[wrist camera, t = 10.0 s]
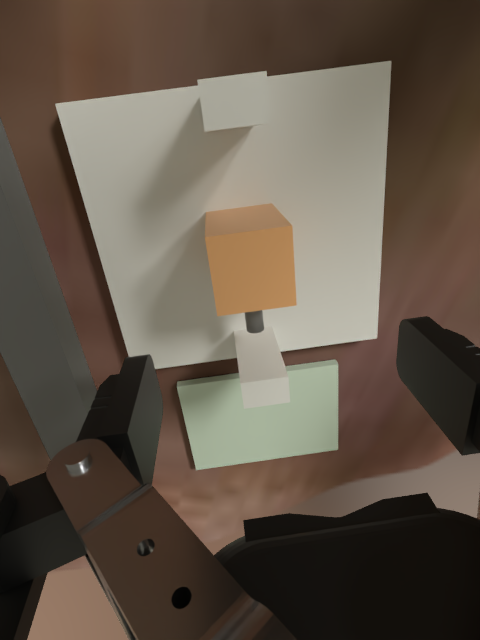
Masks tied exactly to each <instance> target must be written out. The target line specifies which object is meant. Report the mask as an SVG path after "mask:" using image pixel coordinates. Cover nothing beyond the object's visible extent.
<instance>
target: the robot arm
mask: <svg viewBox="0 0 480 640" xmlns="http://www.w3.org/2000/svg"><path fill="white" fill-rule="evenodd" d="M396 364H397V370H398V374H399V376H400V378H401V380H402V381H403V383H404V384H405V385H406V386H407V388H408V389H409V390H410V391H411V393H412V394H413V395H414V396H415V397H416V399H417V400H418V401H419V402H420V404H421V405H422V406H423V407H424V409H425V410H426V411H427V412H428V414H429V415H430V416H431V417H432V419H433V420H434V421H435V422H436V424H437V425H438V426H439V427H440V429H441V430H442V431H443V432H444V434H445V435H446V436H447V437H448V439H449V440H450V441H451V442H452V444H453V445H454V446H455V447H456V449H457V450H458V451H459V452H460V454H461V455H468V454H475V453H480V348H478V347H475V345H474V344H473V343H472V342H471V341H469V340H468V339H467V338H465V337H464V336H462V335H460V334H458V333H455V332H453V331H450V330H448V329H443V328H442V327H441V326H440V325H438V324H437V323H436V322H435V321H433V320H432V319H431V318H430V317H427V316H425V317H418V318H411V319H404V320H402V321H401V323H400V326H399V336H398V348H397V360H396ZM162 415H163V401H162V395H161V390H160V387H159V383H158V379H157V375H156V371H155V367H154V363H153V359H152V357H151V355H150V354H147V355H140V356H133V357H126V358H125V360H124V363H123V366H122V368H121V371H120V374H116V375H110V376H109V377H108V378H107V379H106V380H105V381H104V382H103V383H102V384H101V385H100V386H99V389H98V391H97V393H96V396H95V400H93V403H92V405H91V410H89V412H88V415H87V417H86V419H85V422H84V424H83V426H82V429H81V431H80V433H79V436H78V438H77V440H76V442H75V443H72V444H70V445H68V446H67V447H65V448H63V449H62V450H61V451H59V452H58V453H57V454H56V455H55V456H54V457H53V458H52V460H51V461H50V463H49V465H48V467H47V471H46V472H45V473H43V474H40V475H38V476H35V477H33V478H30V479H28V480H25V481H22V482H20V483H17V484H15V485H12V486H9V484H8V482H7V481H6V479H5V478H4V477H3V476H1V475H0V640H27V638H28V635H29V631H30V628H31V625H32V621H33V618H34V615H35V612H36V608H37V605H38V602H39V599H40V595H41V592H42V589H43V585H44V582H45V579H46V576H47V573H48V572H49V571H51V570H54V569H56V568H58V567H60V566H62V565H64V564H67V563H69V562H71V561H73V560H75V559H77V558H80V557H82V556H85V558H86V559H87V561H88V563H89V565H90V567H91V569H92V571H93V572H94V574H95V576H96V578H97V580H98V582H99V584H100V585H101V587H102V589H103V591H104V593H105V595H106V597H107V599H108V600H109V602H110V604H111V606H112V608H113V610H114V612H115V613H116V615H117V617H118V619H119V621H120V623H121V625H122V627H123V629H124V631H125V633H126V635H127V637H128V639H129V640H480V493H479V503H478V513H477V518H474V517H471V516H469V515H466V514H463V513H459V512H456V511H451V510H446V509H441V508H436V506H435V504H434V503H433V501H432V499H431V498H430V496H429V495H428V493H422V494H416V495H409V496H402V497H395V498H390V499H383V500H380V501H378V502H375V503H373V504H371V505H369V506H366V507H364V508H362V509H359V510H357V511H355V512H353V513H350V514H348V515H346V516H343V517H337V518H334V517H324V516H311V515H301V514H290V513H289V514H282V515H275V516H269V517H262V518H255V519H249V520H243V521H244V531H245V536H243V537H241V538H239V539H237V540H235V541H233V542H231V543H230V544H228V545H226V546H225V547H224V548H222V549H221V550H220V551H219V552H217V553H216V554H215V555H213V554H212V553H211V552H210V551H209V550H208V549H207V547H206V546H205V545H204V544H203V543H202V542H201V541H200V539H199V538H198V537H197V536H196V535H195V534H194V533H193V531H192V530H191V529H190V528H189V527H188V526H187V525H186V523H185V522H184V521H183V520H182V519H181V518H180V517H179V516H178V514H177V513H176V512H175V511H174V510H173V509H172V508H171V506H170V505H169V504H168V503H167V502H166V501H165V500H164V498H163V497H162V496H161V495H160V494H159V493H158V492H157V490H156V489H155V488H154V487H153V486H152V479H153V473H154V466H155V460H156V454H157V447H158V441H159V434H160V428H161V421H162Z"/></svg>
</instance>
